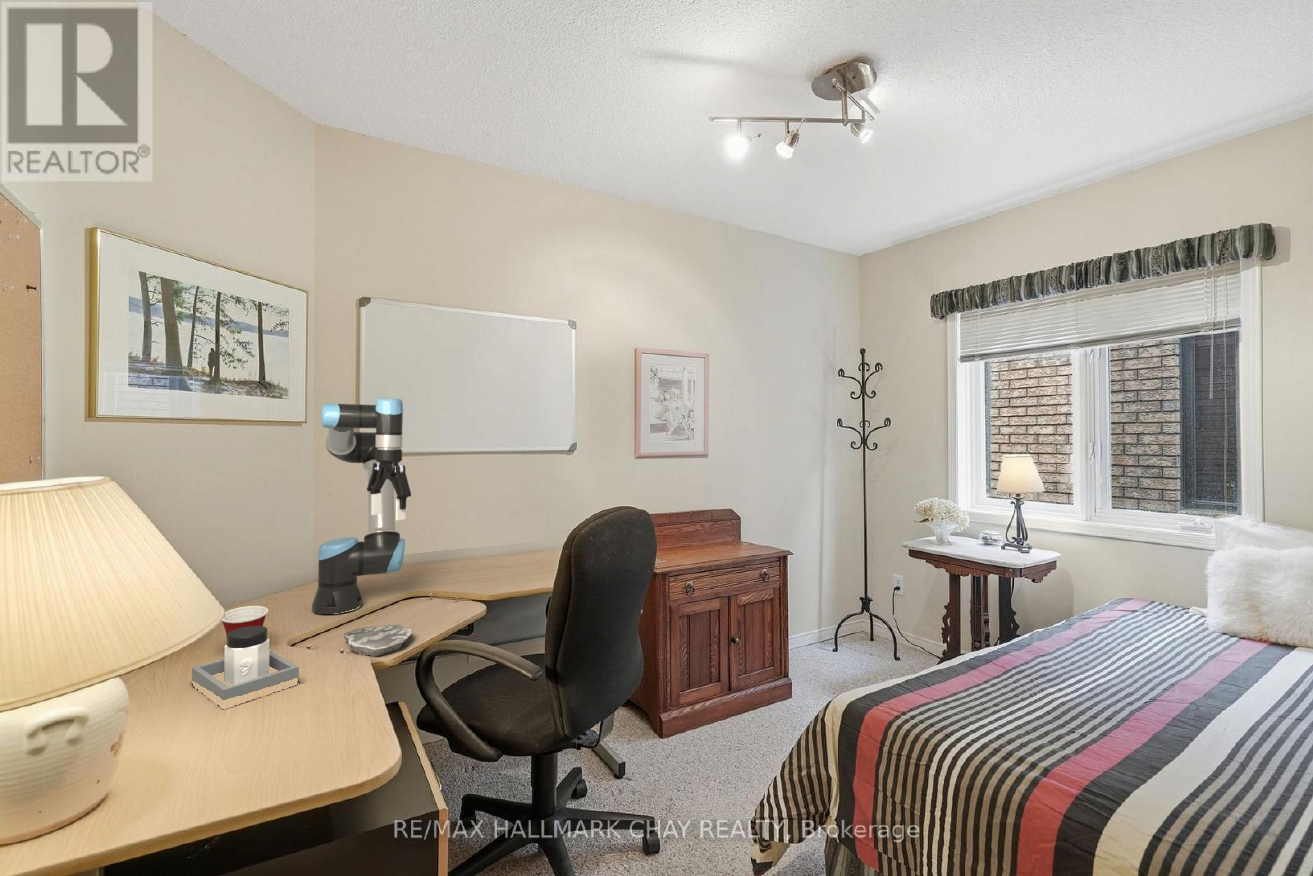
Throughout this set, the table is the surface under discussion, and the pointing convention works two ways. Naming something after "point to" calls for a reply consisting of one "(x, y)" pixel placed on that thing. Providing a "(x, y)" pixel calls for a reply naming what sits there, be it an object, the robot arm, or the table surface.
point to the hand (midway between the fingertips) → (388, 517)
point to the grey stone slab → (377, 639)
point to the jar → (246, 654)
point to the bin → (207, 681)
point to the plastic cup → (244, 617)
